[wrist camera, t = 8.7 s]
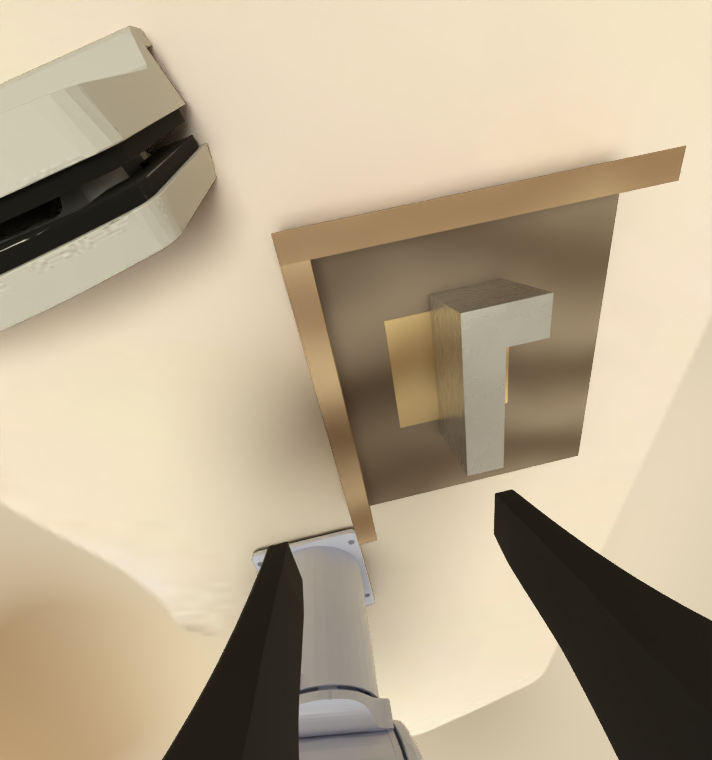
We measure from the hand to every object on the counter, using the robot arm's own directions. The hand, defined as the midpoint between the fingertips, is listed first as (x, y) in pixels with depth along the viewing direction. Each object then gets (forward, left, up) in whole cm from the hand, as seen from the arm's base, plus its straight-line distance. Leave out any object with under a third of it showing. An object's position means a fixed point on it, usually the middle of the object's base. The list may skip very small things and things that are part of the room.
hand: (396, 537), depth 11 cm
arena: (0, -7, -10) cm, 12 cm away
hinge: (+12, +12, -10) cm, 20 cm away
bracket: (+1, -7, -9) cm, 11 cm away
